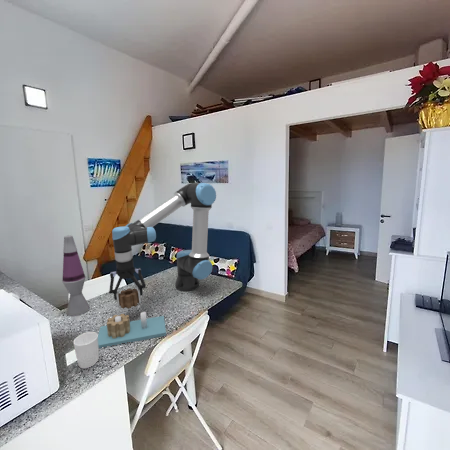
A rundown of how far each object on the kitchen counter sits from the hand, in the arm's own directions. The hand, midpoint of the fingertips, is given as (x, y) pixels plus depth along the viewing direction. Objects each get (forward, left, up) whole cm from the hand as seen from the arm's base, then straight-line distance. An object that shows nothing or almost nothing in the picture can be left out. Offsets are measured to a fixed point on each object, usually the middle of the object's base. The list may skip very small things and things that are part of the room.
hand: (129, 303), depth 122 cm
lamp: (+27, -16, -8) cm, 32 cm away
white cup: (+14, +27, -8) cm, 31 cm away
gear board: (-1, +13, -8) cm, 15 cm away
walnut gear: (0, 0, 0) cm, 0 cm away
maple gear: (+4, +13, -6) cm, 15 cm away
